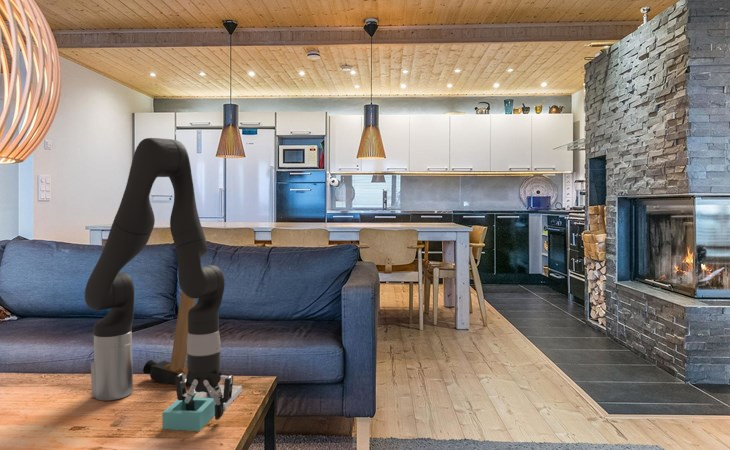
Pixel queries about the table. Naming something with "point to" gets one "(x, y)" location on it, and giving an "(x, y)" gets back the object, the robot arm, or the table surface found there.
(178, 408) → the collar
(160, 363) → the hammer
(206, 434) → the table surface
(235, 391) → the stand
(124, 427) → the table surface
